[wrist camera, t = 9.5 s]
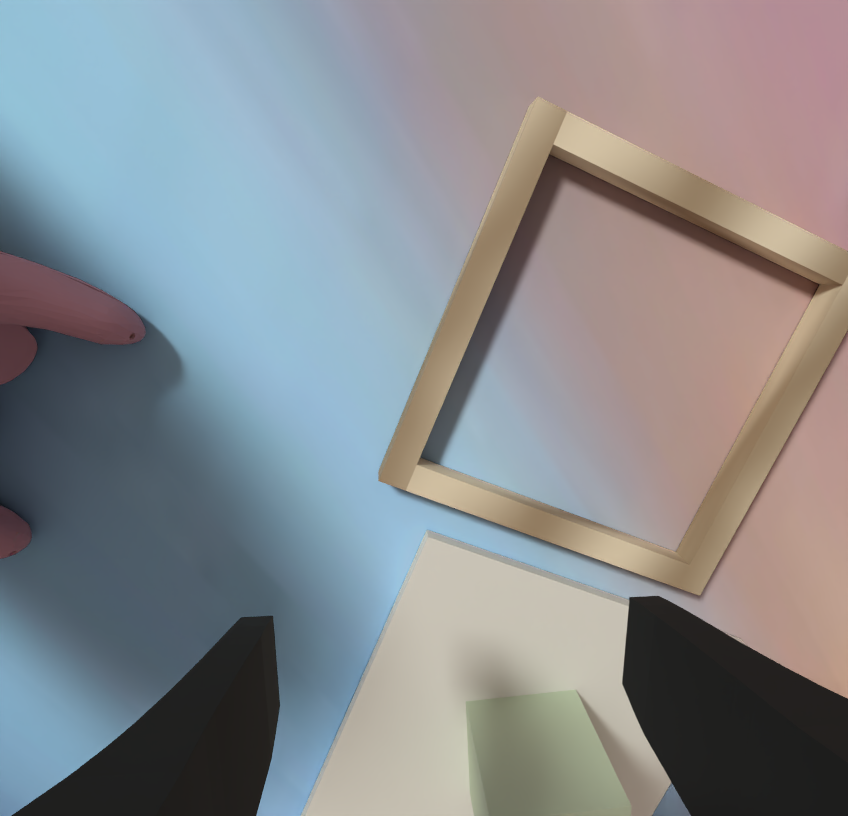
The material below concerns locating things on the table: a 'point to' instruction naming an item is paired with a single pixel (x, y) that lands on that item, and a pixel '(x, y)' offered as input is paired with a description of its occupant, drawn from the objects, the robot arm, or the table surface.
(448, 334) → the maple pocket frame
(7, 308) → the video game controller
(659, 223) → the table surface
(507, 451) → the table surface
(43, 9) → the table surface
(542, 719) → the sage block
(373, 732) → the beige mat
